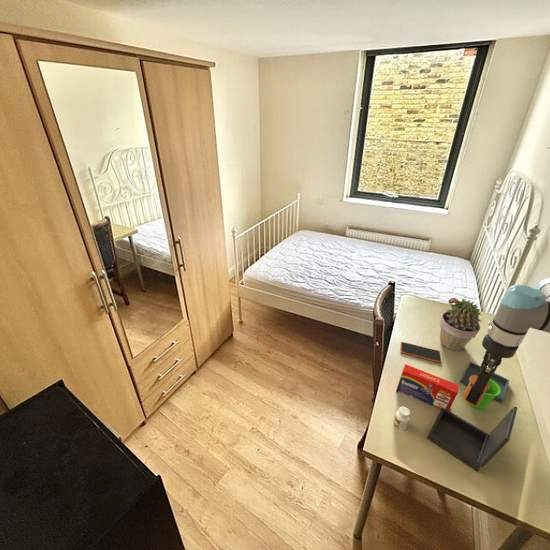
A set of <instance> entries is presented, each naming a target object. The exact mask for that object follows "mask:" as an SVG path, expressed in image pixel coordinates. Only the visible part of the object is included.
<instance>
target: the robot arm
mask: <svg viewBox="0 0 550 550" xmlns="http://www.w3.org/2000/svg"><path fill="white" fill-rule="evenodd" d="M487 326H488V329H487V332H485V335H484V337H483V339H482V341H481V345H482V347H483V349H484V350H485V353H484V355H483V359H482V362H481V364H480V366H481V369H479V372H480V373H478V374H477V376H478V377H477V379H476V381H475V383H474V384H472V383H471V384H470V386H472V387H471V389H470V391H469V393H468V395H467V397H466V399H465V400H467V401H469V402H470V403H472V404H474V405H476V403H477V401H478V399H479V398H480V396H481V394H482V393H483V391H484V389H485V387H486V385H487V383H488V381H489V380H490V378H491V376H492V374H493V373H495V372H496V371H497V369H498V367H499V366H500V365H501V364H502V361H503V359H511V358H513V357H514V356H515V355H516V353H517V351H518V349H519V348H520V345H521V344H522V343H523V341H524V339H525V337H526V335H527V333H528V331H530V329H533V330H538V331H541V332H545V333H548V334H550V277H548V278H545V279H541V281H539V282H538V283H537V285H536V286H535V288H533V287H532V286H530V285H523V284H514V285H511V286H510V287H508V289H507V290H506V292H505V293H504V295H503V297H502V298H501V299H500V302H499V305H498V308H497V310H496V312H495V314H494V317H493V319H492V320H491V321H488V323H487ZM465 400H464V401H465Z"/></svg>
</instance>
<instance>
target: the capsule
mask: <svg viewBox="0 0 550 550" xmlns="http://www.w3.org/2000/svg"><path fill="white" fill-rule="evenodd" d="M477 377H478V376H477V375H473V376H471V377H470V379H469V380H470V383H469V385H468V386H466V389H465V391H464V393H463V395H462V398H463V400H464V402H466V403H467V404H468V405H469V406H471V405H473V406H477V405H479V403H480V401H481V399H482V397H483V396H484V394H485V392H486V390H488V389H489V388H490V384H489V382H488V383H487V385H486V387H485V389H484V391H483V393H482V394H481V396H480V398H479V399H478V401H477V403H476V405H474V404H472V403H470V402H469V401H467V400H465V399H466V397H467V395H468V393H469V391H470V389H471V387H472V386H470V384H471V383H472V384H474V383H475V381H476V379H477Z"/></svg>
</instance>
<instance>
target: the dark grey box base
mask: <svg viewBox="0 0 550 550" xmlns="http://www.w3.org/2000/svg"><path fill="white" fill-rule="evenodd" d="M489 434H490V433H487V432H486V431H484V430H482V429H481V428H479V427H477V426H475V425H474V424H472V423H470V422H469V421H467V420H465V419H463V418H462V417H460V416H458V415H456V414H455V413H453V412H452V411H450V410H449V411H448V410H446V409H445V408H443V407H442V409H440V410H439V413H438V415H437V416H436V419H435V421H434V422H433V425H432V426H431V428H430V431H429V433H428V435H427V437H426V439H427V440H429V441H430V442H431V443H433V444H434V445H436V446H438V447H439V448H441V449H442V450H443V451H444V452H446V453H448V454H449V455H451V456H452V457H454V458H455V459H457V460H459V461H460V462H462V463H463V464H464V465H466V466H468V467H469V468H470V469H472V470H473V471H475V472H476V473H477V472H479V470H480V469H481V468H482V467H481V466H480V463H481V460H482V456H483V453H484V450H485V447H486V444H487V441H488V438H489Z"/></svg>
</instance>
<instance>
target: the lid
mask: <svg viewBox="0 0 550 550" xmlns="http://www.w3.org/2000/svg"><path fill="white" fill-rule="evenodd" d="M517 411H518V407H517V406H516V405H514V406H513V407H512V408H511V409H510V410H509V411H508V412H507V414H506V415H505V416H504V417H503V418H502V419H501V420H500V421H499V422H498V423H497V425H496V426H495V427H494V428H493V429H492V430H491V431H490V432H489V433H488V434H489V438H488V441H487V444H486V447H485V450H484V453H483V456H482V460H481V463H480V466H481V467H480V468H484V467H485V466H486V464H488V463H489V462H490V460H491V459H493V457H494V456H496V454H497V453H499V452H500V450H501V449H503V448H504V447H505V446H506V444H507V443H508V442H510V440H511V435H512V431H513V428H514V424H515V419H516V415H517Z"/></svg>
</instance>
